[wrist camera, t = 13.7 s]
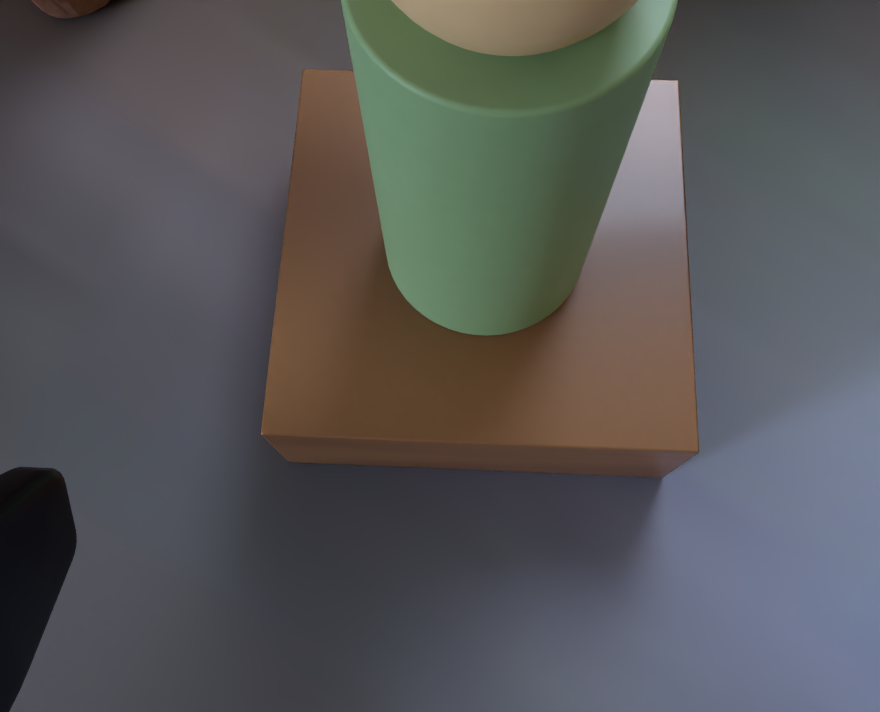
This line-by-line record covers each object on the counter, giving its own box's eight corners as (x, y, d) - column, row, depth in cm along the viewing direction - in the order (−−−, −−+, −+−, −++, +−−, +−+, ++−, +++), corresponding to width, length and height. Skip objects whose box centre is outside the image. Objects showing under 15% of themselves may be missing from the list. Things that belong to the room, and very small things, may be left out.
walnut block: (663, 477, 19) (700, 452, 17) (287, 462, 20) (259, 434, 17) (650, 148, 22) (679, 79, 19) (321, 138, 22) (302, 68, 20)
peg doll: (619, 291, 18) (886, -244, 7) (431, 367, 17) (395, -77, 6) (533, 130, 19) (643, -538, 8) (357, 197, 19) (220, -417, 8)
